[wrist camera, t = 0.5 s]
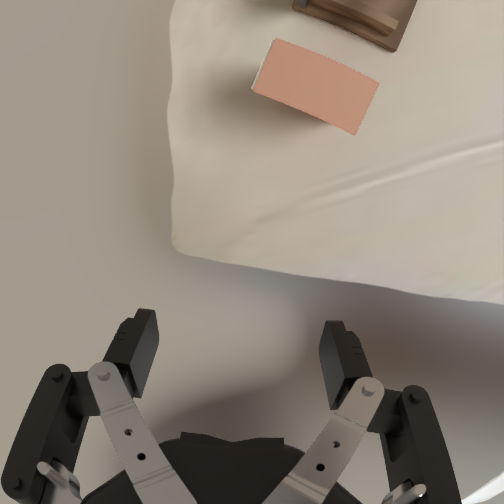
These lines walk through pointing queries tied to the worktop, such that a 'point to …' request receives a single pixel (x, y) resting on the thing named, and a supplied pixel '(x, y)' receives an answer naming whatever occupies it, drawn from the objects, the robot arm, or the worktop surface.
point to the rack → (364, 17)
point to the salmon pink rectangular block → (315, 85)
